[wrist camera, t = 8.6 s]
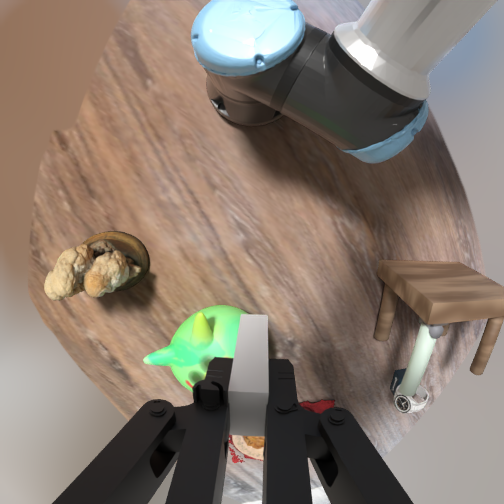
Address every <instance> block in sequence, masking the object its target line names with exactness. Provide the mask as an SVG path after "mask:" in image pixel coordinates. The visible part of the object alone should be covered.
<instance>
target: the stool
mask: <svg viewBox="0 0 504 504" xmlns="http://www.w3.org/2000/svg"><path fill="white" fill-rule="evenodd" d="M377 276H378V277H380V278H381V279H382V280H383V281H384V282H385V287H384V293H383V298H382V303H381V308H380V313H379V318H378V322H377V327H376V331H375V335H374V337H375V338H376V339H377V340H379V341H387V340H388V339H389V335H390V331H391V327H392V323H393V319H394V314H395V310H396V305H397V301H398V296H399V297H400V298H401V299H402V300H403V301H404V302H405V303H407V304H408V305H409V306H410V307H411V308H412V309H413V310H414V311H415V312H416V313H417V314H418V315H419V316H420V318H421V319H422V320H423V321H424V322H425V323H426V324H427V325H430V324H431V325H432V326H442V327H443V328H444V331H443V334H442V335H441V336H445V335H446V334H447V331H448V328H449V325H450V323H452V322H462V321H471V320H479V319H487V318H488V321H487V324H486V327H485V330H484V333H483V336H482V339H481V341H480V344H479V347H478V349H477V352H476V354H475V357H474V359H473V362H472V364H471V367H470V371H471V372H472V373H473V374H475V375H481V374H483V371H484V369H485V367H486V365H487V362H488V360H489V358H490V355H491V353H492V350H493V348H494V345H495V343H496V340H497V337H498V334H499V331H500V329H501V326H502V323H503V320H504V287H503V286H501V285H500V284H498V283H496V282H495V281H493V280H491V279H489V278H487V277H486V276H484V275H482V274H480V273H479V272H477V271H475V270H473V269H471V268H469V267H467V266H466V265H464V264H462V263H460V262H438V261H408V260H379V265H378V271H377Z"/></svg>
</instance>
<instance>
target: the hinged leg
mask: <svg viewBox="0 0 504 504" xmlns="http://www.w3.org/2000/svg"><path fill="white" fill-rule="evenodd" d="M418 321H419V323H420V324H421V326H420V329H419V333H418V336H417V339H416V342H415V346H414V349H413V352H412V355H411V358H410V361H409V363H408V366H407V369H406V372H405V374H404V377H403V380H402V382H401V385H400V387H399V392H400V393H401V394H402V395H404V396H413V395H415V393H416V391H417V389H418V386H419V384H420V382H421V379H422V377H423V374H424V372H425V369H426V367H427V364H428V361H429V359H430V356H431V353H432V350H433V347H434V345H435V342H436V339H437V338H439V337H440V336H441V335H442V334H443V331H444V328H443V327H442V326H432V325H431V324H430V325H427V324H426V323H425V322H424V321H423V320H422V319H421V318H420V317H419V320H418Z"/></svg>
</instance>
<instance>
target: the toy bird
mask: <svg viewBox="0 0 504 504" xmlns="http://www.w3.org/2000/svg"><path fill="white" fill-rule="evenodd" d="M241 314H248V313H246V312H245V311H243V310H241V309H239V308H236V307H233V306H227V305H216V306H211V307H207V308H205V309H202V310H200V311H198V312H196V313H195V314H193V315H192V316H190V317H189V318H188V319H187V320H186V321H184V322H183V324H182V325H181V326H180V327H179V328H178V330H177V331H176V333H175V334H174V336H173V338H172V341H171V343H170V345H169V346H167V347H164V348H162V349H160V350H157V351H155V352H153V353H151V354H149V355H147V356H146V357H145V358H144V360H143V361H144V363H146V364H150V365H161V366H171V369H172V371H173V373H174V375H175V377H176V378H177V380H178V381H179V382H180V383H181V384H182V385H183V386H184V387H185V388H187V389H188V390H190V391H191V392H193V390H192V387H193V386H194V384H195V383H197V382H198V381H201V380H204V379H205V376H206V372H207V369H208V365H209V362H210V361H211V360H212V359H214V358H215V357H224V358H234V353H235V347H236V341H237V335H238V329H239V323H240V317H241Z"/></svg>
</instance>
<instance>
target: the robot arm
mask: <svg viewBox="0 0 504 504" xmlns="http://www.w3.org/2000/svg"><path fill="white" fill-rule="evenodd" d="M496 1H497V0H371V2H370V3H369V5H368V6H367V8H366V9H365V11H364V12H363V14H362V16H361V17H360V19H359V20H358V21H356V22H349V23H342V24H339V25H338V26H336V28H335V30H334V31H333V33H332V35H330V34H328V33H326V32H325V31H323V30H321V29H319V28H317V27H315V26H313V25H311V24H309V23H307V22H305V19H304V16H303V14H302V13H301V11H300V10H299V9H298V6H297V4H296V3H295V2H294V1H292V0H212V1H211V2H209V3H208V4H207V5H206V6H205V7H204V8H203V9H202V10H201V11H200V12H199V14H198V15H197V17H196V19H195V21H194V23H193V26H192V31H191V41H192V45H193V48H194V52H195V57H196V59H197V61H198V62H199V63H200V65H202V66H203V68H204V69H205V71H206V73H207V74H208V75H207V80H206V87H207V93H208V96H209V99H210V101H211V103H212V104H213V106H214V107H215V109H216V110H217V111H218V112H219V113H220V114H221V115H222V116H223V117H225V118H226V119H228V120H230V121H232V122H234V123H237V124H240V125H245V126H260V125H265V124H268V123H271V122H273V121H276V120H277V119H279V118H281V117H282V116H283V115H285V116H287V117H289V118H291V119H292V120H294V121H296V122H298V123H299V124H301V125H303V126H304V127H306V128H308V129H309V130H311V131H313V132H314V133H316V134H318V135H319V136H321V137H323V138H324V139H326V140H327V141H329V142H331V143H332V144H334V145H335V146H336V147H337V148H338V149H340V150H342V151H343V152H346V153H349V154H351V155H353V156H354V157H356V158H358V159H359V160H361V161H363V162H366V163H380V162H383V161H386V160H388V159H390V158H392V157H394V156H395V155H397V154H398V153H399V152H401V151H402V150H403V149H405V148H406V147H407V146H408V145H409V144H410V143H411V142H412V141H413V139H414V134H416V133H417V132H420V130H421V129H422V127H423V125H424V124H425V122H426V119H427V116H428V103H427V101H426V99H427V97H428V96H429V95H430V93H431V89H430V82H429V73H430V72H431V71H432V70H433V69H434V68H435V67H436V66H437V65H438V64H439V63H440V62H441V61H442V59H443V58H444V57H445V56H446V55H447V54H448V53H449V52H450V51H451V50H452V49H453V48H454V47H455V45H457V43H458V42H459V41H460V40H461V39H462V38H463V37H464V36H465V35H466V34H467V33H468V32H469V30H471V28H472V27H473V26H474V25H475V24H476V23H477V22H478V21H479V20H480V19H481V18H482V17H483V16H484V14H485V13H486V12H487V11H488V10H489V9H490V8H491V6H493V5H494V4H495V2H496ZM192 390H193V399H194V403H192V404H190V405H187V406H181V407H174V406H173V405H172V404H171V403H170V402H168V401H166V400H161V399H155V400H151V401H148V402H147V403H145V404H144V405H143V406H142V407H141V408H140V409H139V411H138V412H137V413H136V414H135V415H134V416H133V417H132V418H131V419H130V420H129V422H128V423H127V424H126V425H125V426H124V427H123V428H122V429H121V430H120V432H119V433H118V434H117V435H116V436H115V437H114V438H113V439H112V440H111V442H109V444H108V445H107V446H106V447H105V448H104V449H103V450H102V451H101V452H100V453H99V454H98V456H97V457H96V458H95V459H94V460H93V461H92V462H91V463H90V464H89V465H88V466H87V467H86V468H85V469H84V470H83V471H82V473H81V474H80V475H79V476H78V477H77V478H76V479H75V480H74V481H73V482H72V483H71V484H70V485H69V486H68V487H67V489H66V490H65V491H64V492H63V493H62V494H61V495H60V496H59V497H58V498H57V499H56V500H55V501H54V502H53V503H52V504H148V502H149V501H150V499H151V498H152V497H153V495H154V494H155V492H156V491H157V489H158V488H159V486H160V485H161V483H162V482H163V480H164V479H165V477H166V476H167V474H168V473H169V471H170V470H171V468H172V467H173V465H174V464H175V462H176V461H177V464H176V467H175V471H174V474H173V478H172V482H171V485H170V489H169V492H168V496H167V499H166V503H165V504H221V501H222V494H223V486H224V478H225V471H226V463H227V455H228V448H229V434H230V435H240V436H262V437H264V449H263V456H264V458H263V496H262V504H312V494H311V485H310V476H309V467H308V458H310V460H311V463H312V465H313V467H314V469H315V471H316V473H317V475H318V478H319V480H320V482H321V484H322V486H323V488H324V490H325V492H326V494H327V496H328V498H329V501H330V503H331V504H413V502H412V501H411V499H410V498H409V496H408V495H407V493H406V492H405V491H404V489H403V488H402V486H401V485H400V483H399V482H398V480H397V479H396V478H395V476H394V475H393V473H392V472H391V470H390V469H389V468H388V466H387V465H386V463H385V462H384V460H383V459H382V457H381V456H380V454H379V453H378V452H377V450H376V449H375V447H374V446H373V444H372V443H371V441H370V440H369V438H368V437H367V436H366V434H365V433H364V431H363V430H362V428H361V427H360V425H359V424H358V422H357V421H356V419H355V418H354V417H353V415H352V414H351V413H350V412H349V411H348V410H346V409H343V408H339V407H333V408H328V409H326V410H324V411H323V412H322V413H321V414H320V413H315V412H311V411H308V410H306V409H304V408H303V407H302V406H301V405H300V404H299V403H298V400H297V392H296V384H295V376H294V369H293V365H292V364H291V362H290V361H289V360H288V359H268V315H251V314H241V317H240V323H239V329H238V335H237V341H236V347H235V353H234V358H224V357H215V358H214V359H212V360H211V361H210V362H209V365H208V369H207V372H206V376H205V379H204V380H201V381H198V382H197V383H195V384H194V386H193V387H192ZM307 457H308V458H307ZM177 459H178V460H177Z"/></svg>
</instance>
